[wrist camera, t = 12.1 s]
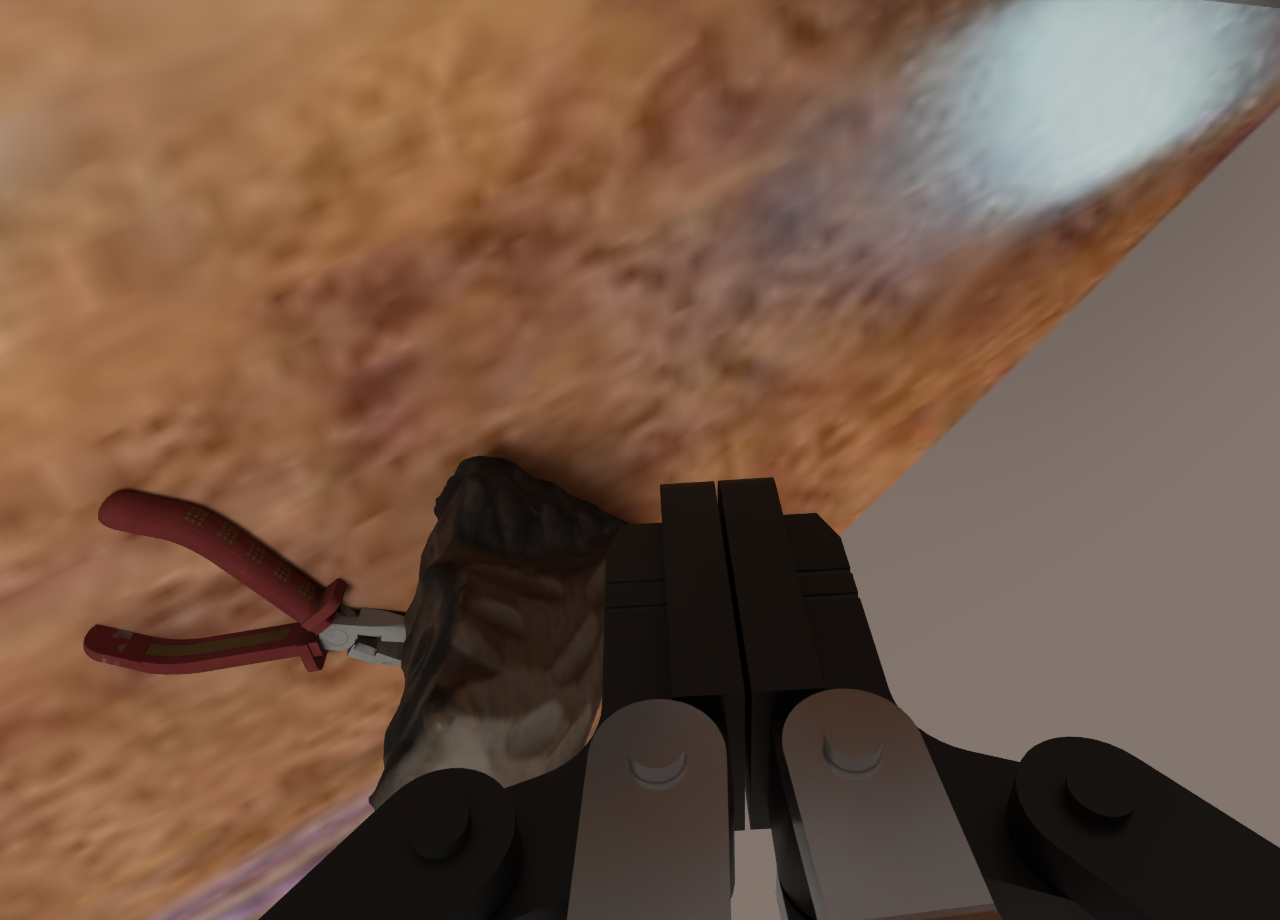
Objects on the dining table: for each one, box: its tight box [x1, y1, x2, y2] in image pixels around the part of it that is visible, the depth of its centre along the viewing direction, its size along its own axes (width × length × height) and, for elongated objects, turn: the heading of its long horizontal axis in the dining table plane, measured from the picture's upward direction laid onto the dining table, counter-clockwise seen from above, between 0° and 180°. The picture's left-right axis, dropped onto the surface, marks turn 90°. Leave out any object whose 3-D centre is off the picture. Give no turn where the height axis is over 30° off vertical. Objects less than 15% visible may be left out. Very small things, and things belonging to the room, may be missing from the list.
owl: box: [369, 456, 631, 811], centre depth 43 cm, size 13×13×20 cm
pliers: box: [83, 491, 406, 675], centre depth 52 cm, size 12×21×3 cm, turn 68°
